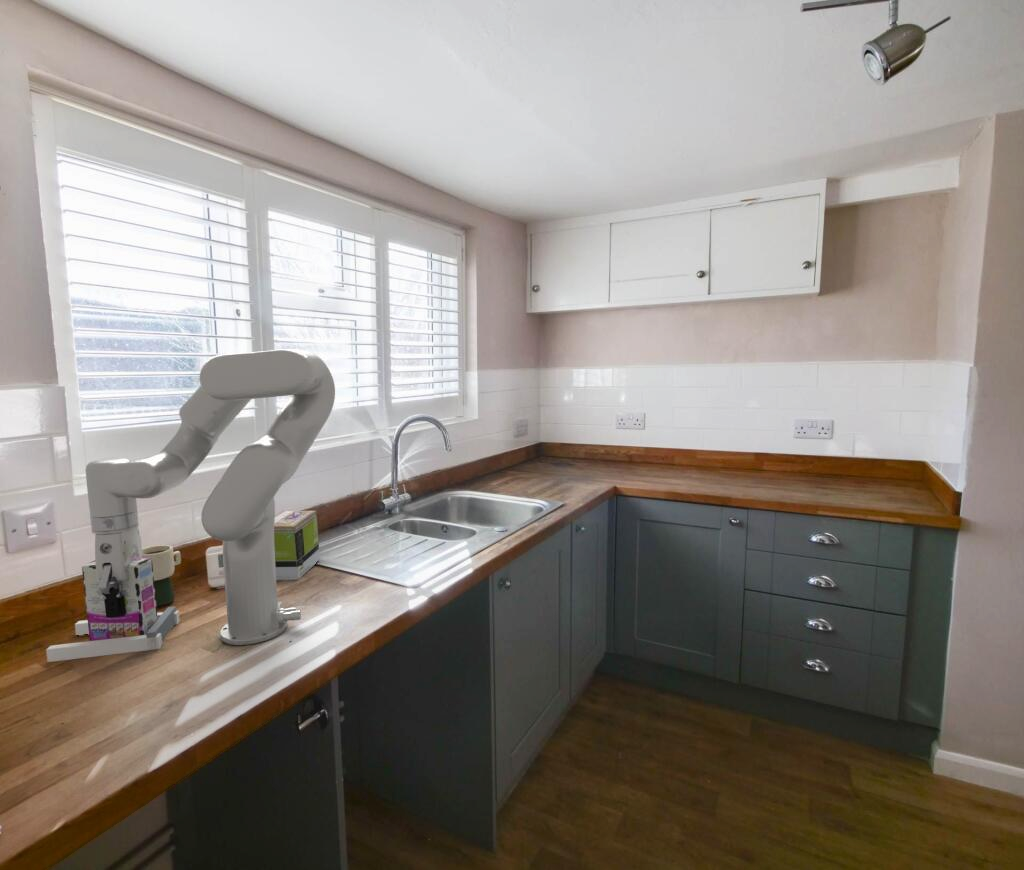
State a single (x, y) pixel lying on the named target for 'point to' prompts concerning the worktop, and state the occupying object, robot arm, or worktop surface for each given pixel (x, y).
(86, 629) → the channel
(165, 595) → the character mug
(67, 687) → the worktop surface
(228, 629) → the robot arm
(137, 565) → the candy bar box
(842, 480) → the worktop surface
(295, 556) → the tea box
